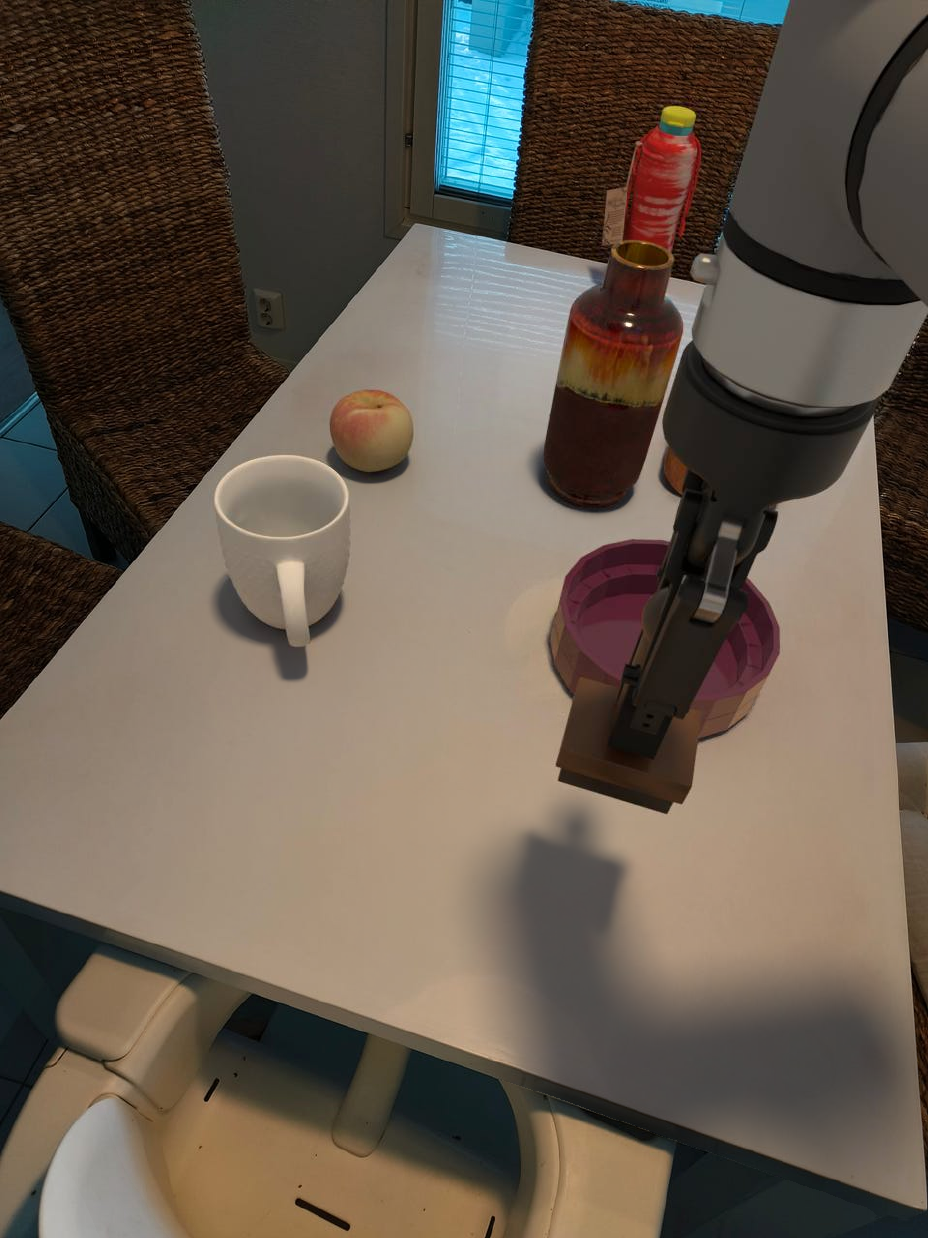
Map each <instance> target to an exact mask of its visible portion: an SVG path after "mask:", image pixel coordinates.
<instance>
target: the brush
mask: <svg viewBox="0 0 928 1238" xmlns="http://www.w3.org/2000/svg"><path fill="white" fill-rule="evenodd" d="M668 588H669V586H667V587H665V588H662V589H660V590H659V591H657V592H656V593H654V594H653V595H652V596H651V597H650V598H649V600H648V601H647V603H646V605H645V607H644V609H643V613H642V628H643V635H642V637H641V640H640V643H639V646H638V648H637V651H636V654H635V656H634V659H633V662H632V664H631V665H633V666H636V664H639V665H641V663H642V660H643V658H644V655H645V652H646V649H647V646H648V644H649V641H650V638H651V635H652V632H653V630H654V627H655V624H656V621H657V618H658V616H659V613H660V610H661V607H662V604H663V602H664V599H665V596H666V593H667V591H668ZM628 685H629V684H625V683H624V686H623V689H622V691H621V694H620V697H619V699H618V700H617V698H618V694H619V690H620V688H617V687H614V686H610V685H607V684H603V683H600V682H596V681H593V680H589V679H586V678H582V677H580V678H579V681H578V684H577V687H576V691H575V694H573V698H572V700H571V705H570V709H569V713H568V716H567V719H566V724H565V726H564V727H565V728H564V732H563V736H562V739H561V743H560V747H559V750H558V754H557V757H556V762H555V767H556V768H559V769H560V770H559V772H558V776H557V782H559V783H563V784H566V785H568V786H572V787H575V788H579V789H581V790H582V789H583V790H586V791H588V792H592V793H595V794H598V795H601V796H605V797H609V798H611V799H614V800H617V801H621V802H625V803H627V804H632V805H634V806H639V807H641V808H645V809H648V810H651V811H655V812H657V813H660V814H664V815H668V814H669V812H670V810H671V808H672V807H673V805H674V803H675V804H679V805H683V804H684V802H685V801H686V799H687V797H688V795H689V793H690V792H691V789H692V787H693V783H694V782H693V781H694V773H695V767H696V760H697V759H696V758H697V752H698V745H699V739H698V737H699V729H700V722H701V714H702V713H701V711H698V710H694V709H691V708H690V709H689V712H688V714H687V713H686V715H685V718H684V719H683V720H682V719H678V718H675V717H673V719H672V721H671V723H670V725H669V728H668V730H667V732H666V734H665V736H664V738H663V741H662V743H661V745H660V747H659V749H658V751H657V754H656V756H655V758H654V760H653V759H649V758H646V757H642V756H639V755H636V754H632V753H629V752H626V751H622V750H619V749H615V748H612V747H609V746H607V744H608V739H609V735H610V732H611V730H612V727H613V724H614V722H615V719H616V716H617V714H618V711H619V708H620V706H621V703H622V700H623V698H624V695H625V693H626V690H627V687H628Z"/></svg>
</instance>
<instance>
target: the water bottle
mask: <svg viewBox="0 0 928 1238" xmlns="http://www.w3.org/2000/svg"><path fill="white" fill-rule="evenodd" d="M661 111H662V112H661V116H660V121H659V124H658V125H656V126H655V128H654V129H651V130H649V131H648V132H647V134H645V135H644V136H643V137H642V138H641V139H640V140H636V142H635V149H634V152H633V156H632V159H631V163H630V168H629V172H628V176H627V181H626V185H625V186H621V187H618V188H613V189H609V190H607V191H606V200H605V211H604V220H603V231H602V242H601V246H608V247H612V246H613V245H614V244H616V243H618V242H620V241H625V240H640V241H646V242H651V243H654V244H657V245H660V246H662V247H664V248H665V249H667V250H668V251H670V253H671V254H672V252H673V248H674V247H673V246H674V242H675V237H676V233H677V232H676V231H677V228H678V224H679V221H680V226H679V230H678V233H677V234H678V236H679V237H680V238H682V236H683V233H684V231H685V226H686V216H687V214H688V213H689V212H690V208H691V204H692V201H693V197H694V194H695V190H696V187H697V180H698V176H699V172H700V166H701V161H702V147H701V143H700V141H699V139H698V138H697V137H696V136H695V133H694V131H693V128H694V125H695V122H696V118H697V114H696V113H695V111H693V110H692V109H690V108H687V107H683V106H678V105H671V106H670V105H669V106H666V107H664V108H663V109H662V110H661ZM632 188H633V189H632ZM632 190H633V191H632ZM631 191H632V199H631V205H630V209H629V207H628V205H629V201H630V197H631ZM683 207H684V208H683ZM682 210H683V213H682ZM628 213H629V214H628ZM681 213H682V216H681Z"/></svg>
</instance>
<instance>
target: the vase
mask: <svg viewBox="0 0 928 1238" xmlns="http://www.w3.org/2000/svg"><path fill="white" fill-rule="evenodd" d="M674 261H675V256H674V255H673V254H672V252H671V253H670V251H668V250H667V249H665V248H664V247H662V246H660V245H657V244H654V243H651V242H646V241H640V240H625V241H620V242H618V243H616V244H614V245H613V246H611V249H610V251H609V255H608V260H607V264H606V267H605V273H604V277H603V281H602V283H600V284H596V285H594V286H592V287H590V288H588V289H586V290H585V291H583V292H582V293H581V294H580V295H578V297H576V299H575V300H573V303H572V304H571V306H570V309H569V314H568V319H567V322H566V328H565V332H564V337H563V343H562V348H561V354H560V359H559V365H558V368H557V369H558V370H557V375H556V379H555V385H554V391H553V396H552V401H551V407H550V413H549V418H548V423H547V427H546V434H545V439H544V446H543V452H542V461H543V464H544V468H545V469H546V471H547V477H546V478H547V483H548V486H549V488H550V490H551V491H552V493H553V494H555V495H556V496H557V497H558V498H559V499H561V500H563V501H565V502H566V503H568V504H571V505H573V506H576V507H580V508H585V509H604V508H609V507H612V506H615V505H616V504H618V503H620V502H621V501H622V500H623V499H624V498H625V497H626V493H627V492H628V491H627V490H629V489H630V488H632V487H633V486H634V485H635V484H637V482H638V480H639V479H640V477H641V473H642V471H643V468H644V465H645V463H646V460H647V459H646V458H647V456H648V453H649V450H650V446H651V442H652V439H653V436H654V432H655V429H656V426H657V423H658V420H659V417H660V413H661V410H662V407H663V403H664V400H665V396H666V392H667V389H668V386H669V382H670V380H671V376H672V373H673V369H674V367H675V363H676V360H677V356H678V352H679V349H680V345H681V342H682V337H683V334H684V321H683V318H682V315H681V313H680V310H679V309H678V308H677V306H676V305H675V303H674V302H673V301H672V299H670V298H668V297H667V296H666V294H667V292H668V291H667V290H668V288H669V282H670V278H671V275H672V271H673V267H674Z"/></svg>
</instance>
